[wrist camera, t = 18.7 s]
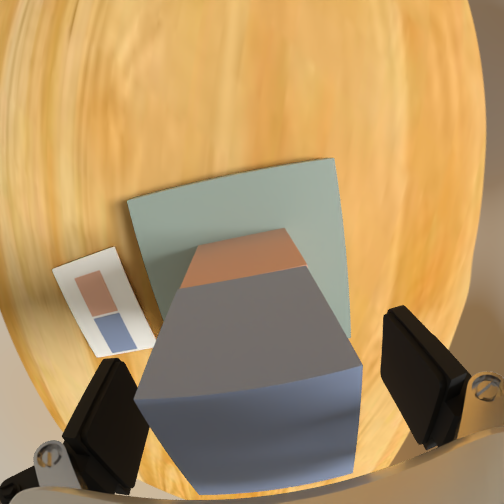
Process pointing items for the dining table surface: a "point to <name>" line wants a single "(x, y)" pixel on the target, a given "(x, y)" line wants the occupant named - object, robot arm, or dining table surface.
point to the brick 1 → (243, 258)
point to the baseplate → (247, 224)
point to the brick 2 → (253, 385)
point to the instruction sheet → (104, 304)
